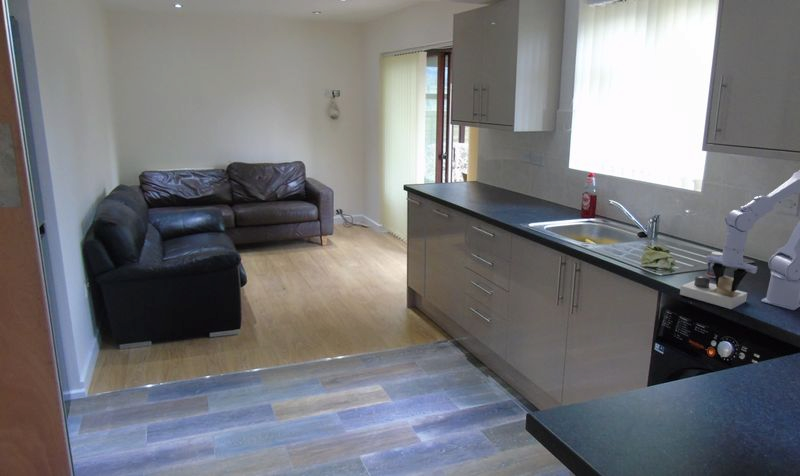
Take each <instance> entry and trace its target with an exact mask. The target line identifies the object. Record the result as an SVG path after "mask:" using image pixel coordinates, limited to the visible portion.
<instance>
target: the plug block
mask: <svg viewBox="0 0 800 476" xmlns="http://www.w3.org/2000/svg"><path fill="white" fill-rule="evenodd" d="M733 280H734V277H732V276H727V275H723V276H722V277H719V280H718V285H717V290H716V293H717V294H721V295H725V296H728V297H733V296H734V292H735V291H732V285H733Z"/></svg>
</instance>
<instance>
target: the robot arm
mask: <svg viewBox="0 0 800 476" xmlns="http://www.w3.org/2000/svg"><path fill="white" fill-rule="evenodd" d="M799 191H800V169H799V170H798V171H795V172H794V173H793V174H792V175H791V177H790V178H789V179H787V180H786V181H785V182H784V183H783V184H781V185H780V186H778V187H777V188H776V189H774V190H772V192H770V193H769V194H767V195H759V196H758V195H756V196H755V197H753V200H751V201H749V202H748V203H746V204H745V205H742V206H740V207H739V209H734V210H733V209H732V210H731V211H730V212H729V213H728V214H727V216H724V223H725V224H726V234H725V240H724V242H723V243H724V244H723V248H722V249H723V250H722V253H723V254H722V258H720V257H714V256H711V255H706V258H705V262H706V263H707V264H708V263H709V262H710V263H714V265H713V266H712V268H713V271H714V274H715V278H714V279H715V283H716V287H717V285H718V280H719V277H722V276H724V275H725V274H724V273H725V271H726V268H727V267H728V268H732V269H735V270H733V278H734V280H733V285H732V291H736V290H737V289H738V287H739V285H740V283H741V282H742V280H743V278H744V277H745V276H746V275H748V273H751V274H756V273H757V271H758V266H757V265H756V266H755V265H752V264H751V263H750V264H749V263H746V262H743V259H744V253H745V249H746V245H747V238H748V235H749V230H751V229H753V228H754V227H755V224H756V222H758V220H760V219H762V218H763V217H765V216H766V215H768V214H769V213H771V212H772V211H774V209H775V205H776V204H778V203H779V202H782V201H784V200H785V199H787V198H789V197H791V196H792V195H794V194H795V193H798V192H799ZM767 264H768V266H767V267H768V268H769V269H770V280H769V283H768V288H767V292H766V297H764V298H762V299H761V302H762V303H766V304H770V305H773V306H776V307H781V308H784V309H788V310H791V311H795V310H797V309H798V308H800V219H799V220H798V222H797V224H796V225H795V228H794V229H793V231H792V233H791V235H790V237H789V239H788V241H787V243H786V244H785V245H784V246H782V247H779V248H778V249H777V250H776V252H775V253H774V254H773V255H772V256H770V258H769V259H768V263H767Z"/></svg>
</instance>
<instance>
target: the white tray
mask: <svg viewBox="0 0 800 476" xmlns="http://www.w3.org/2000/svg"><path fill="white" fill-rule="evenodd" d="M716 290H717V287H716V284H715V283H711V277H708V276H707V275H703V274H702V275H701V274H698V275H695V279H694V280H692V281H690V282H687V283H685V284H682V285H680V291H679V295H680V296H684V297H688V298H691V299H694V300H697V301H702V302H705V303H708V304H712V305H715V306H719V307H723V308H725V309H728V310H733V309H734V308H736V307H738V306H740V305H742V304H744V303H745V302H747V296H748V292H745V291H741V290H737V289H736V291H735V292H734V296H733V297H728V296H725V295H721V294H717V293H716Z"/></svg>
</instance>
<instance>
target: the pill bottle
mask: <svg viewBox="0 0 800 476" xmlns="http://www.w3.org/2000/svg"><path fill="white" fill-rule="evenodd" d="M722 254H723V252H719V251H718V252H717V251H712V252H711V254H710V256H714V257H720V258H722ZM713 265H714V263H710V262H709V263H708V262H707V265H706V271H705V276H707V277H709V278H713V279H716V278H715V274H714V271H713V268H712V266H713Z"/></svg>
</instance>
